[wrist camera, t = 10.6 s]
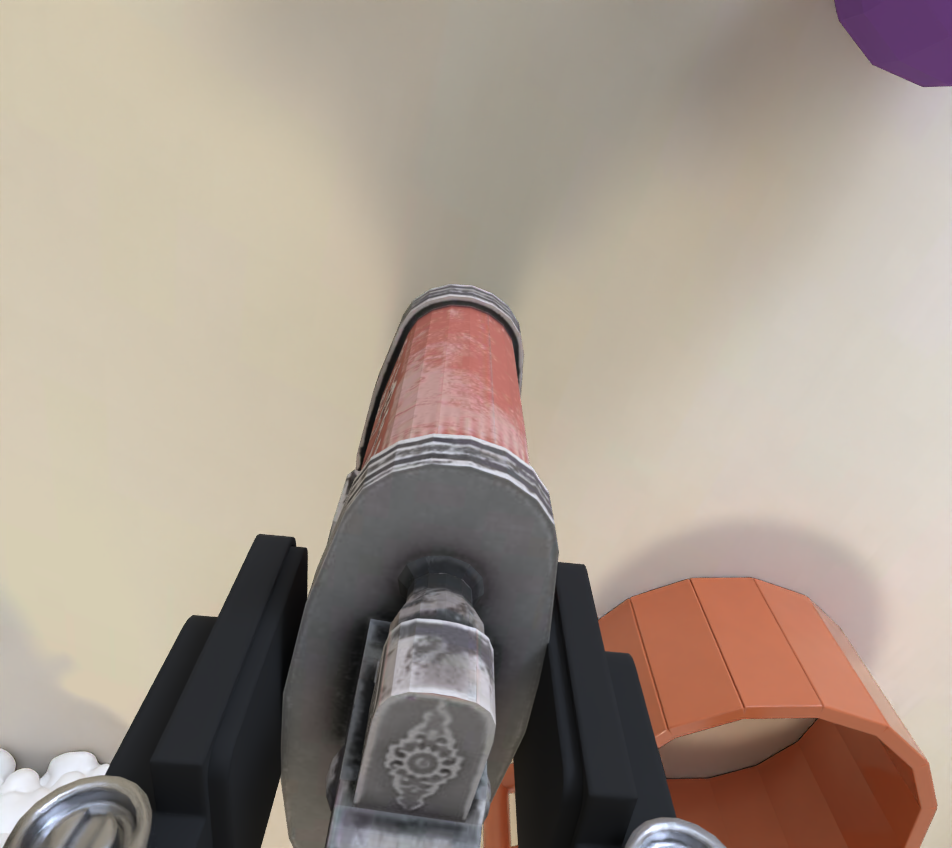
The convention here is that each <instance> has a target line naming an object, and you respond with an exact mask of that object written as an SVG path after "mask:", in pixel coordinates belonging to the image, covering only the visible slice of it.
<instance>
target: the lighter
mask: <svg viewBox="0 0 952 848" xmlns="http://www.w3.org/2000/svg"><path fill="white" fill-rule="evenodd" d="M523 359H524V352H523V345H522V339H521V333H520V327H519V322H518V321H517V319H516V318H515V316H514V314H513V313H512V311H511V309H510V308H509V306H508V305H506V304H505V303H504V302H503V301H501V300H500V299H499V298H498V297H496V296H495V295H494V294H493V293H490V292H488V291H485V290H482V289H480V288H477V287H475V286H470V285H456V284H449V285H445V286H441V287H436V288H432V289H429V290H428V291H426V292H425V293H423V294H422V295H420V296H419V297H417V298H415V299H414V300H413V301H412V303H411V304H410V306H409V307H408V308H407V310H406V311H405V313H404V314H403V317H402V319H401V322H400V324H399V327H398V329H397V331H396V334H395V336H394V339H393V341H392V344H391V346H390V349H389V351H388V354H387V356H386V358H385V361H384V363H383V366H382V368H381V371H380V373H379V376H378V379H377V382H376V385H375V388H374V391H373V395H372V399H371V403H370V407H369V411H368V414H367V418H366V422H365V426H364V430H363V434H362V438H361V441H360V445H359V449H358V453H357V460H356V470H354V471H352V472H351V473H350V474H348V475H347V478H346V481H345V485H344V488H343V491H342V494H341V497H340V500H339V503H338V507H337V510H336V513H335V516H334V519H333V523H332V527H331V531H330V534H329V538H328V542H327V546H326V548H325V551H324V553H323V555H322V558H321V560H320V562H319V565H318V567H317V570H316V573H315V576H314V579H313V583H312V586H311V589H310V592H309V595H308V598H307V601H306V604H305V608H304V612H303V616H302V620H301V624H300V628H299V632H298V636H297V640H296V644H295V648H294V652H293V656H292V660H291V664H290V668H289V672H288V676H287V680H286V684H285V688H284V692H283V706H282V730H281V776H280V778H281V785H282V792H283V799H284V807H285V814H286V821H287V828H288V835H289V839H290V841H291V843H292V846H293V848H480V842H481V830H482V824H483V822H484V821H485V819H486V817H487V816H488V813H489V808H490V804H491V802H492V800H493V798H494V796H495V794H496V792H497V790H498V788H499V786H500V784H501V782H502V780H503V778H504V775H505V773H506V771H507V769H508V767H509V765H510V763H511V761H512V759H513V757H514V755H515V753H516V751H517V749H518V747H519V745H520V743H521V740H522V738H523V736H524V734H525V732H526V728H527V725H528V721H529V717H530V714H531V710H532V706H533V703H534V699H535V695H536V692H537V688H538V684H539V680H540V675H541V671H542V666H543V661H544V657H545V652H546V648H547V643H549V637H550V628H551V619H552V610H553V601H554V592H555V583H556V574H557V564H558V555H559V550H558V543H557V537H556V530H555V524H554V518H553V513H552V507H551V502H550V496H549V492H548V490H547V489H546V487H545V486H544V484H543V483H542V481H541V480H540V478H539V476H538V475H537V473H536V472H535V470H534V469H533V468H532V467H531V466H530V462H529V455H528V448H527V441H526V434H525V427H524V420H523V412H522V405H521V387H522V373H523Z"/></svg>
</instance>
